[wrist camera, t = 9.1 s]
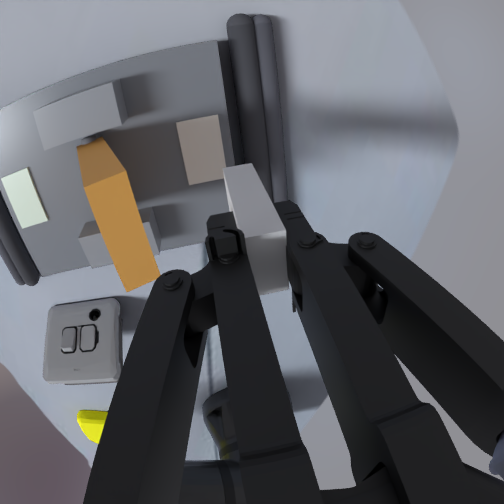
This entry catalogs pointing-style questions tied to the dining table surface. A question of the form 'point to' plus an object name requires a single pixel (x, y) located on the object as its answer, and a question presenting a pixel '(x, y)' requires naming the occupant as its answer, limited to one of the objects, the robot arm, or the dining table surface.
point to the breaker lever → (116, 212)
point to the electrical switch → (83, 343)
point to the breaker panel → (119, 153)
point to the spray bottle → (92, 423)
